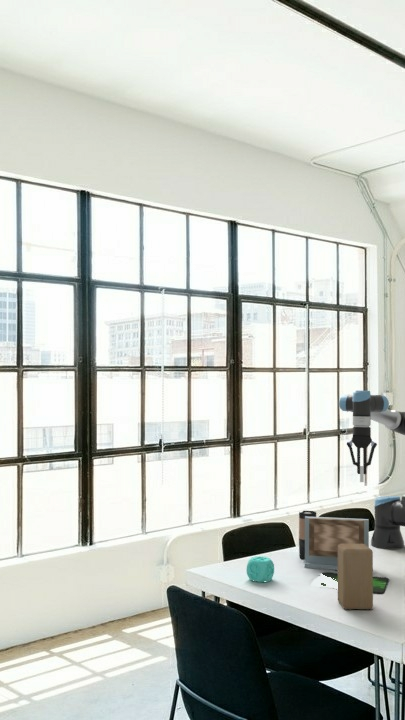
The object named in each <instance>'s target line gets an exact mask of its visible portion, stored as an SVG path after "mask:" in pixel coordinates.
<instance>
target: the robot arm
mask: <svg viewBox="0 0 405 720" xmlns="http://www.w3.org/2000/svg"><path fill="white" fill-rule="evenodd" d="M338 406H339V409H340V410H341V411H342V412H346V413H348V412H351V413H352V425H353V426H352V437H351V440H349V441H347V442H346V446H347V447H348V450H349V453H350V457H351V460H352V461H351V462H352V464H353V465H354V466H356V467H357V468H356V473H357V475H359V483H364V482H365V480H364V477H365V475H367V467H368V466H371V464H372V459H373V456H374V452H375V449H376V447H377V446H378V443H377V442H375V441H373V439H372V434H371V433H372V432H371V431H372V430H371V429H372V428H371V426H372V425H371V421H374V422H375V423H378V424H380V425H383V426H384V427H385V428H386V429H387V430H390V431H393V432H395V433H397V434H400V435H403V436H405V411H398V410H395V409H392V410H390V409H388V408H389V406H390V402H389V398H388V397H387V396H385V395H382V394H371V391H370V390H353V392H352V394H343V395H341V396H340V397H339V400H338ZM353 445H354V446H355V448H356V458H355V454H354V451H353ZM369 446H371V448H370V452H369V456H368V461H367V448H368V447H369ZM361 449H362V451H363V454H362V455H363V456H362V457H363V458H362V460H363V461H362V462H363V465H361ZM401 527H405V493H404V494H403V495H401V497H400V496H397V495H391V496H389V495H388V496H387V495H386V496H378V497H376V498H375V499H374V530H373V533H372V537H371V538H370V546H372V547H374V548H379V549H387V550H397V549H404V548H405V541H404V538H403V534H402V531H401Z"/></svg>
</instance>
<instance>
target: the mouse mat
mask: <svg viewBox="0 0 405 720" xmlns="http://www.w3.org/2000/svg"><path fill="white" fill-rule="evenodd" d="M321 573H322V574H323V575H325V576H327V577H331V578H332V579H333V578H334V579H333V580H335V579H336V580H335V581H337V582H338V572H330V571H329V572H327V571H324V572H321ZM389 581H390V579H389V577H387V576H385V577H383V576H373V594H379V595H380V594H381V595H382V594H384V593H385V591H386V589H387V586H388V584H389ZM321 585H323V586H326V584H324V583H321Z"/></svg>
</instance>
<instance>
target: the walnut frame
mask: <svg viewBox="0 0 405 720" xmlns="http://www.w3.org/2000/svg"><path fill="white" fill-rule="evenodd" d="M339 544H364V520H346V519H325V518H309V556H325V557H338V545H339Z"/></svg>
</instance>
